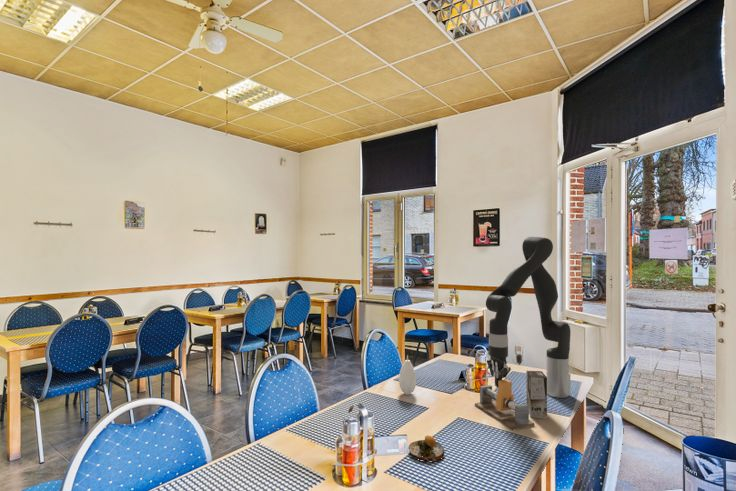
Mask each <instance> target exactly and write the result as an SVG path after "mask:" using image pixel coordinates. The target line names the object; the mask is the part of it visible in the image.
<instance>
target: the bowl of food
mask: <svg viewBox="0 0 736 491" xmlns="http://www.w3.org/2000/svg"><path fill="white" fill-rule="evenodd" d="M434 435H435V434H433V436H432V435H425V436H424V439H421V440H415V441H413V442H411V443H410V444H409V445H408V450H409V453H410V454H411V455H412V456H415V457H416V460H417V459H419V460H424V461H425V460H426V461H427V462H428V461H435V462H436V461H438V460H440V459H441V458H444V457H445V448H444V446H443V445H442V444H440V443H439V442H437V441H436V439H435V438H434ZM422 456H423V457H422ZM443 456H444V457H443ZM419 460H418V461H419ZM441 460H442V459H441Z"/></svg>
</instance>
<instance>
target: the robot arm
mask: <svg viewBox="0 0 736 491" xmlns="http://www.w3.org/2000/svg"><path fill="white" fill-rule="evenodd" d="M553 244H554V243H553V242H552V240H551V239H550V238H547V237H540V236H527V237H525V238H524V240H523V241H522V248H521V249H522V253H523V256H524V259H525V260H524V261H525V262H523V263H522V264H520V265H518V266H516V267H515V268H514V269H513V270H511V271H510V272H509V273H508V275H507V276H506V277H505V279H504V280H503V282H502V283H501V284H500V285H499V286H497V287H496V288H495V289H494V290H493V291H491V292H490V293H489V295H488V296H487V297H486V300H485V307H486V308H487V310H488V311H490V312H493V313H496V315H495V317H493V318H491V319H490V320H489V324H488V325H489V329H488V330H489V332H488V333H489V334H488V355H489V356H490V359H487V360H486V364H487V366H488V369H489V371H490V374H491V375H493V377H494V386H495V387H496V388H498V381H499V380H503V379H505V378H507V376H508V375H509V373H510V372H511V370H512V369H511V366H508V365H507V364H508V363H507V362H508V361H507V357H509V334H508V323H509V320H510V316H511V312H512V308H513V306H512V301H511V299H510V298H511V297H512V298H513V297H515V296H516V295H517V294H518V293H519V291H520V290H521V288H522V287H523V285H524V284H525V283H526V281H527V280H528V279H529V278H531V281H532V286H533V290H534V294H535V299H536V301H537V302H536V303H537V307H538V311H539V316H540V324H541V332H542V335H543V337H544V339H545V340H547V341H550V342H555V343H557V346H555V347H551V348H548V349H546V377H547V396H551V397H553V398H556V399H557V398H558V399H560V398H561V399H565V398H569V397H570V396H571V374H570V372H569V371H570V364H569V362H570V358H569V356H570V348H571V327H570V324H569V323H567V322H564V321H557V320H553V318H552V312H553V309H554V307H555V305H556V303H557V302H558V300H559V299H558V298H559V294H558V289H557V284H556V281H555V280H554V278H553V277H552V275H551V274H550V273H549V272H548V270H547V269H546V268H545V266H544V265H543V264H544V263H545V262H546V261H547V260H548V258H549V257H550V256H551V254H553V251H554V250H553V249H554V246H553Z"/></svg>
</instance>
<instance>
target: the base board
mask: <svg viewBox="0 0 736 491" xmlns="http://www.w3.org/2000/svg"><path fill="white" fill-rule="evenodd" d="M474 407H476V408H478V409H479V410H481V411H483V412H484V413H485V414H487V415H489V416H490V417H492V418H494V419H495V420H497V421H498V422H500V423H501V424H502V425H505V426H506V427H508V428H509V429H511V430H512V431H513V430H518V429H524V428H529V427H534V426H535V422H534V421H532V420H530V419H529V424H525V425H520V426H517V425H516V424H515V411H513V410H506V411H500V410H498V409H496V400H494V399H492V403H486V404H481V403H480V402H475V403H474Z"/></svg>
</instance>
